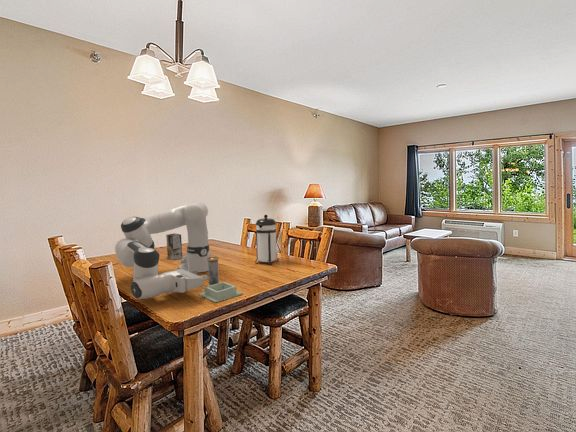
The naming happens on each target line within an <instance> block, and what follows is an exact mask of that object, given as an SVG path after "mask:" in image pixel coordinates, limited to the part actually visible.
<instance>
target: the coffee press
mask: <svg viewBox="0 0 576 432" xmlns="http://www.w3.org/2000/svg"><path fill="white" fill-rule="evenodd" d="M255 225H256V228H255V238H256V241H255V243H256V260H255V261H254V262H255V264H259V262H260V263H268V265H269V266H271V265H272V262H275V261H276V262H279V259H278V257H277V221H276V220H275V219H273V218H268V215H267V214H264V215H263V218H259V219H257V220H256V222H255Z"/></svg>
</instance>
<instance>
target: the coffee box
mask: <svg viewBox="0 0 576 432" xmlns="http://www.w3.org/2000/svg"><path fill="white" fill-rule="evenodd" d="M165 237H166V248H167V249H166V252H167V259H170V260H173V261H174V260H175V261H176V260H182V257H183V245H182V242H183V241H182V234H181V233H180V234H179V233H169V234H166V236H165Z"/></svg>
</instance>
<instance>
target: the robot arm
mask: <svg viewBox="0 0 576 432" xmlns="http://www.w3.org/2000/svg"><path fill="white" fill-rule="evenodd" d="M208 213H209V209H208V206H207V205H206V204H205V203H204V202H202V201H195V202H192V203H188V204H184V205H181V206H177V207H174V208H170V209H168V210H163V211H159V212H156V213H154V214H151V215H149V216H148V217H145V218H143V217H140V216H139V217H138V216H131V217H128V218H126V219H124V220H123V221H122V222H121V224H120V229H121V232H122V233H123V235H124V237H125V238H123V239H120V240H118V241H117V242H116V244H115V247H114V252H115V254H116V258H117V259H118V261H119V263H120V264H121V265H123V266H124V267H127V268H133V275H132V276H133V277H132V278H133V279H132V280H133V281H132V282H130V292H131V295H132V296H133V297H134V298H136V300H139V299H141V300H143V299H144V300H145V299H150V298H155V297H158V296H160V295H163V294H170V293H180V294H181V293H186V291H191V290H193V289H197V288H199V287H201V286H203V284H204V281H205V280H207V279H209V274H202V275H198V273H205V272H209V268H208V261H207V258H209V257H212V253H211V252H210V245H209V231H208V226H207V225H208V224H207V216H208ZM185 226H186V231H187V244H188V245H187V246H186V253H185V254H184V255H182V258H181V259H180V263H181V264H179V265H177V269H175V270H170V271H166V272H162V273H160V274H159V263H160V262H159V261H160V253H159V251H157V250H156V249H155V248H156V247H155V242H154V240H153V239H152V236H151V235H154V234H159V233H164V232H167V231H172V230H174V229H178V228H181V227H185Z"/></svg>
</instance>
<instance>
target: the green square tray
mask: <svg viewBox="0 0 576 432" xmlns="http://www.w3.org/2000/svg"><path fill="white" fill-rule="evenodd" d="M243 294H244V293H243V292H241V291H238V290H237V286H236V285H233V284H231V283H228V282H226V281H220V282H219V283H217V284H214V285H210V286H209V285H207V286H204V291H203V292H200V293H199V292H198V296H200V295H201V296H200V297H202V296H203V297H202V298H204V297H205V298H204V299H206V298H207V299H206V300H208V299H209V300H208V301H210V300H211V301H210V302H212V301H213V302H212V303H214V302H215V303H214V304H216V302H218V303H221V302H224V301H227V300H231V299H233V298H236V297H238V296H242V295H243ZM226 299H227V300H226ZM223 300H224V301H223ZM220 301H221V302H220Z"/></svg>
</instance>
